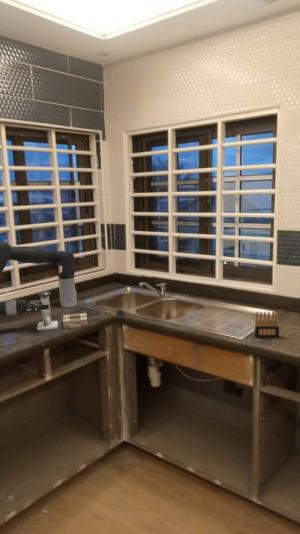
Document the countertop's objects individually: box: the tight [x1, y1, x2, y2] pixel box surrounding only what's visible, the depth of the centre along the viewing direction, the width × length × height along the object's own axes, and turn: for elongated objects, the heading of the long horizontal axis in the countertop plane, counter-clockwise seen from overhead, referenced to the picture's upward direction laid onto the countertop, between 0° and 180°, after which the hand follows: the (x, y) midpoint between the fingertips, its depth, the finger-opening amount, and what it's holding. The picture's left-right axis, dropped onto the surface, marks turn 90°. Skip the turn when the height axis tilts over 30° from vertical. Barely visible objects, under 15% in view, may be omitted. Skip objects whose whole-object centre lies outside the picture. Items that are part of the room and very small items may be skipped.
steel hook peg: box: [38, 290, 52, 326], centre depth 210 cm, size 6×6×17 cm
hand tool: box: [115, 309, 125, 328], centre depth 214 cm, size 19×4×5 cm, turn 1°
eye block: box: [62, 312, 89, 329], centre depth 214 cm, size 12×12×4 cm
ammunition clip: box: [253, 311, 280, 339], centre depth 184 cm, size 11×2×12 cm, turn 86°
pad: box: [36, 320, 59, 331], centre depth 212 cm, size 10×10×1 cm
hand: (49, 304), depth 210 cm, fingers open, 8 cm apart
